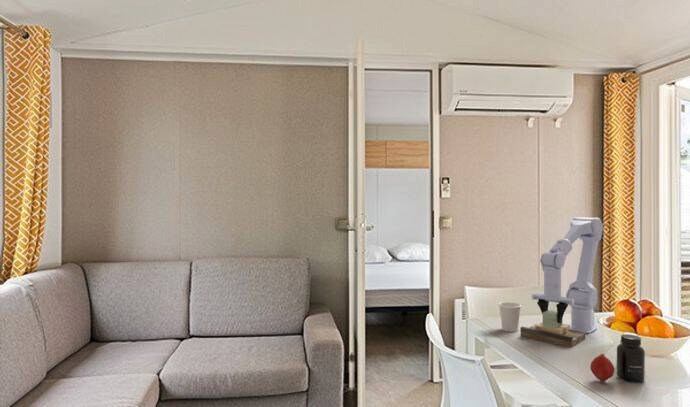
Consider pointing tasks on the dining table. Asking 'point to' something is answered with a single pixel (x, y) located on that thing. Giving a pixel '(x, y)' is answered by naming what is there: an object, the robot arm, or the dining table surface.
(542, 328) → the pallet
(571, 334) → the dock
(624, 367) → the supplement bottle
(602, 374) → the onion
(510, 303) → the dixie cup
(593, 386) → the dining table surface
